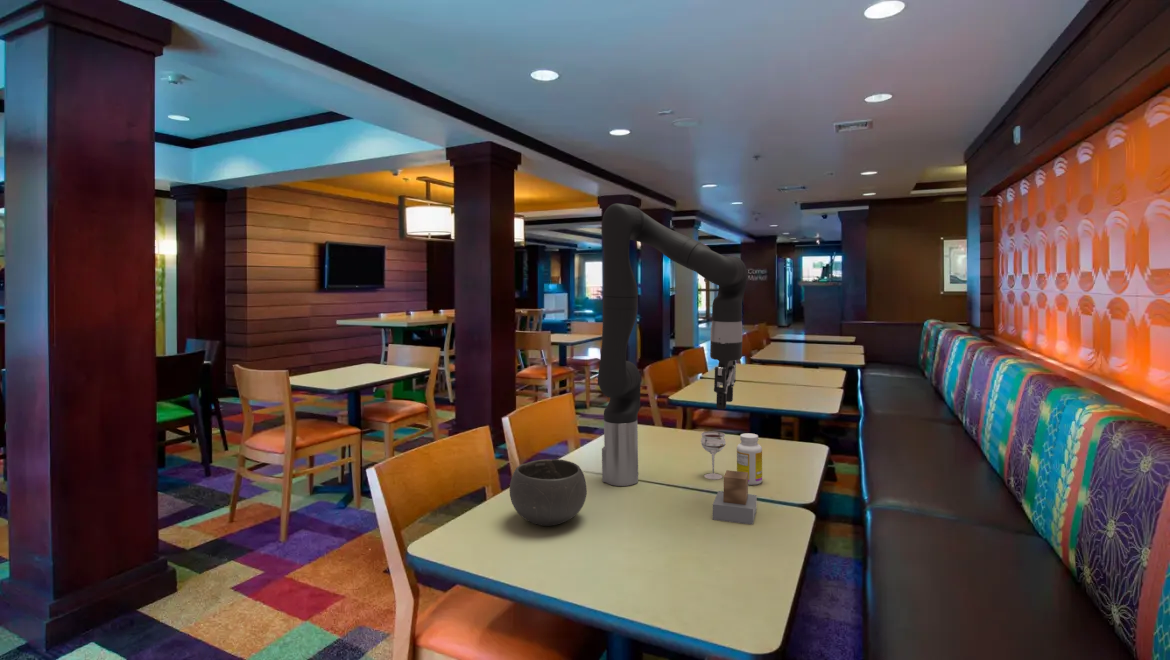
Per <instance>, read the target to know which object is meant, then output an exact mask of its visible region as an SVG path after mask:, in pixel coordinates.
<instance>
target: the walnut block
mask: <svg viewBox="0 0 1170 660" xmlns="http://www.w3.org/2000/svg"><path fill="white" fill-rule="evenodd" d="M723 475H724V476H723V492H724V496H723V502H727V503H735V504H743V505H746V502H747V498H748V494H749V485H748V472H739V471H737V470H728V469H727V470H726V471H725V473H724V474H723Z"/></svg>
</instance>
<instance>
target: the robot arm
mask: <svg viewBox="0 0 1170 660" xmlns="http://www.w3.org/2000/svg"><path fill="white" fill-rule="evenodd" d="M602 216H603V217H602V221H601V222H602V223H601V225H602V226H601V230H602V231H601V233H602V242H603V243H602V244H603V259H604V260H603V261H604V263H603V293H602V333H601V334H602V335H601V350H600V358H599V367H598V373H597V374H598V375H597V381H598V386H599V390H600V391H601V393H602V394H603V395H604V396H605V397H607V398H608V399H609V401H608V403H607V406H606V407H605V409H603V435H604V437H603V439H604V440H603V441H604V443H603V444H604V446H603V447H602V448H601V474H602V475H601V477H602V478H601V480H602V483H606V484H608V485H611V486H617V487H627V486H633V485H636V484H637V483H638V482H639V446H638V445H639V437H638V436H639V435H638V434H639V433H638V432H639V431H638V430H639V429H638V413H639V411H640V407H641V383H642V382H641V376H640V371H639V369H638V367H637V366H636V365H635V363H633V362H631V361H629V360H627V347H628V343H629V339H630V336H631V334H632V331H633V330H634V326H635V322H636V320H637V315H638V301H639V300H638V297H639V296H638V295H639V294H638V292H639V291H638V285H637V281H636V278H635V275H634V271H633V269H632V265H631V261H630V241H635V242H639V243H643V244H646V245H648V246H650V247H652V248H654V249H655V250H657V251H659V252H660V253H662V254H663V255H664V256H666V257H667V259H669V260H671V261H673V262H674V263H676V264H678V265H680V266H682V267H684V268H687V269H689V270H691V271H693V272H695V273H697V274H698V275H700V277H702V278H704V279H705V280H707V281H708V282H710V283H711V284H714V285H717V286H718V288H717V289H718V291H717V296H715V297H714V299H713V301H712V305H711V306H712V308H711V309H712V310H711V326H710V342H709V343H710V346H709V350H710V352H709V354H710V355H709V356H710V357H709V358H710V359H712V360H716V361H718V363H717V364H718V366H714V383H713V385H714V387H713V392H714V393H715V394H716V403H715V404H716V406H715V407H716V409H718V410H726V408H727V403H729V402H730V403H731V402H733V400H734V387H735V383H736V382H737V381H736V367H737V366H736V363H737V361H740V360H742V358H743V322H742V320H743V319H742V314H743V299H744V296H745V290H746V285H747V279H748V272H747V267H746V265H745V262H744V261H743V260H742V259H741V258H738V257H735V256H726V255H723V254H720V253H719V252H716V251H714V250H712V249H711V248H710V247H709V246H708V245H706V244H704V243H703V242H700V241H698V240H697V239H694V238H692V237H689V236H688V235H684V234H683V233H680V232H678V231H675V230H673V229H670V228H669V227H667V226H665V225H663V224H662V223H660V222H658V221H657V220H655V219H654V218H652V217H651V216H649V215H648V214H647V213H645V212H644V211H642V210H641V209H640V208H638V206H633V205H629V204H624V203H613V204H611V205H609V206H608V207H607V208H606V210H605V211H604V213H603V215H602ZM721 386H722V387H721Z"/></svg>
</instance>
